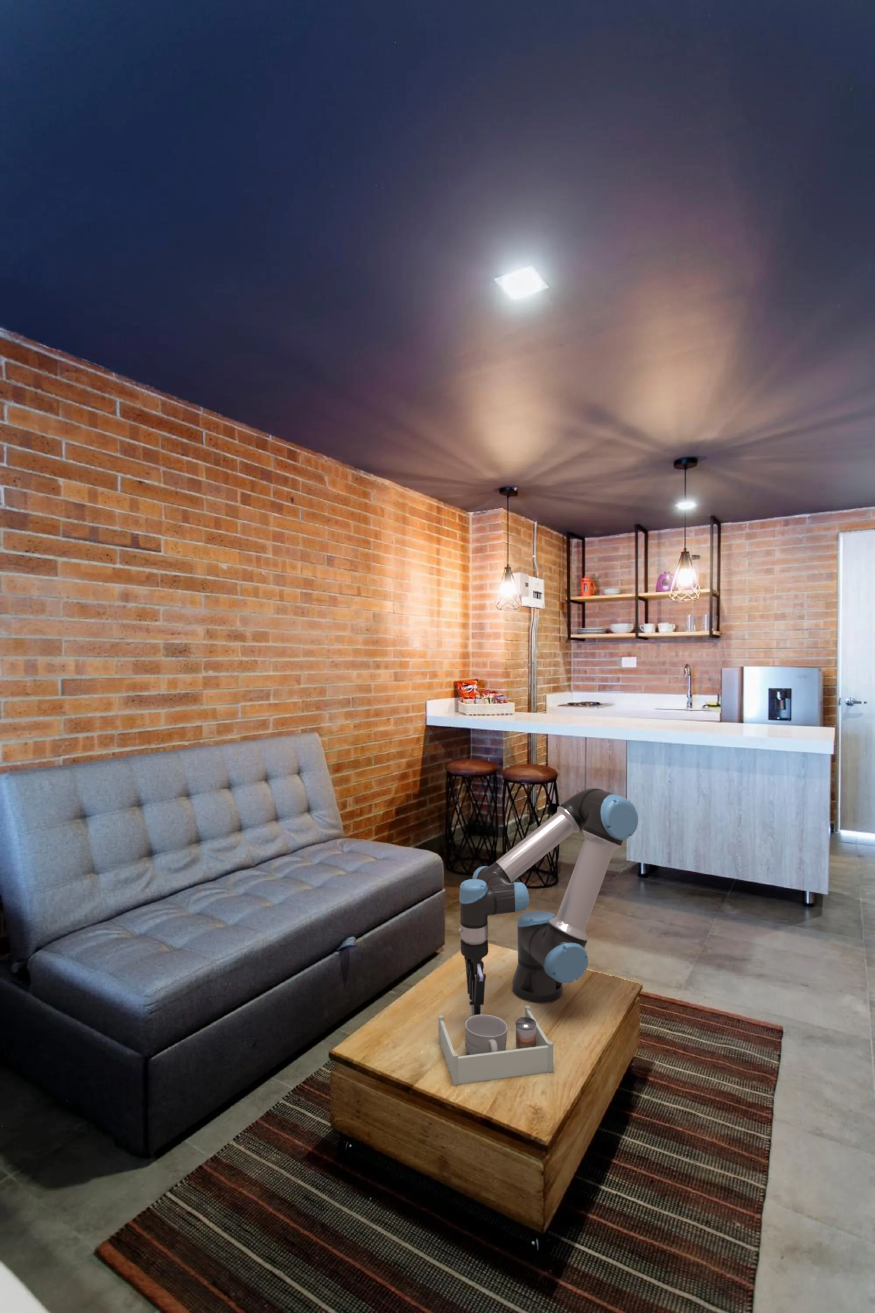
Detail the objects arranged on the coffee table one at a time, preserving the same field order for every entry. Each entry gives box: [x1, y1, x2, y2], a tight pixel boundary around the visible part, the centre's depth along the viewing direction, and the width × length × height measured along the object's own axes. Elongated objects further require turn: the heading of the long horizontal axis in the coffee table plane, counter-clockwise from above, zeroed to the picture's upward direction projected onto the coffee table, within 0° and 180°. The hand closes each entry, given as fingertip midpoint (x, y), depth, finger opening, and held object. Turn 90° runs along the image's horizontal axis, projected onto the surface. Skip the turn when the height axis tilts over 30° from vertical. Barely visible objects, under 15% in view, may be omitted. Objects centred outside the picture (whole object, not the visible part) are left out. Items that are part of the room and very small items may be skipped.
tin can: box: [515, 1016, 536, 1049], centre depth 163 cm, size 5×5×8 cm
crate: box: [438, 1004, 554, 1086], centre depth 162 cm, size 25×18×7 cm
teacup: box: [464, 1013, 508, 1055], centre depth 161 cm, size 14×11×8 cm
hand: (476, 1025), depth 175 cm, fingers closed
